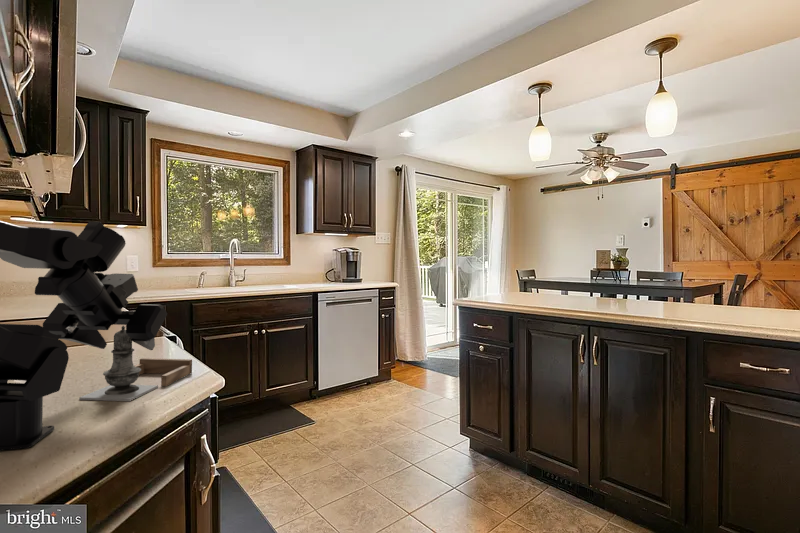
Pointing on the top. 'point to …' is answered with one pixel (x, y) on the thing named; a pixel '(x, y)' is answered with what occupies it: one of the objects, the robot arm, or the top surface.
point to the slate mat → (124, 397)
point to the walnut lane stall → (166, 368)
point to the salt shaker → (122, 366)
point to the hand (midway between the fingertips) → (128, 347)
